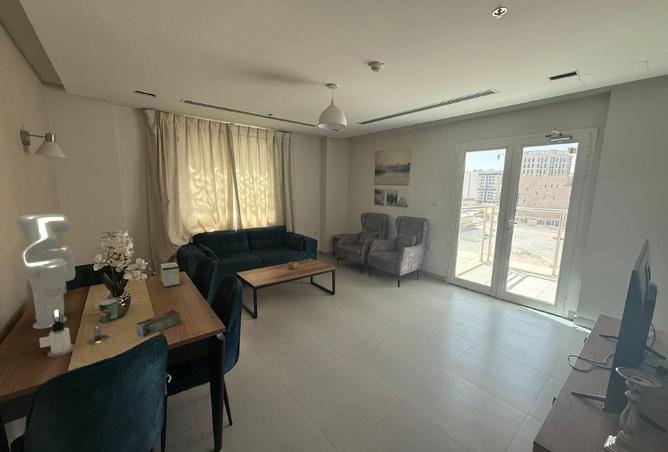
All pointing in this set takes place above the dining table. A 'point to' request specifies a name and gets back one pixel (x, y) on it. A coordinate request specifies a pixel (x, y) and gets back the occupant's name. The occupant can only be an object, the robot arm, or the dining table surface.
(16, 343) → the dining table surface
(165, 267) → the protein box
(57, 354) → the coaster
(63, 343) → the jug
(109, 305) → the canned tomato
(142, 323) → the beverage carton
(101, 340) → the post
